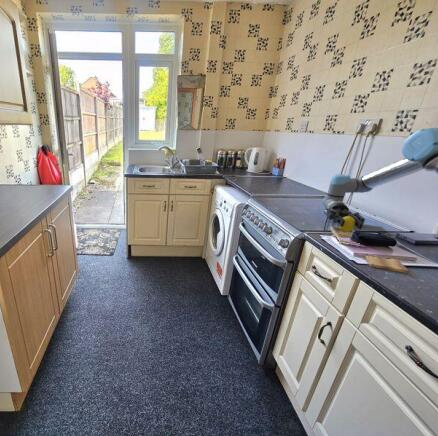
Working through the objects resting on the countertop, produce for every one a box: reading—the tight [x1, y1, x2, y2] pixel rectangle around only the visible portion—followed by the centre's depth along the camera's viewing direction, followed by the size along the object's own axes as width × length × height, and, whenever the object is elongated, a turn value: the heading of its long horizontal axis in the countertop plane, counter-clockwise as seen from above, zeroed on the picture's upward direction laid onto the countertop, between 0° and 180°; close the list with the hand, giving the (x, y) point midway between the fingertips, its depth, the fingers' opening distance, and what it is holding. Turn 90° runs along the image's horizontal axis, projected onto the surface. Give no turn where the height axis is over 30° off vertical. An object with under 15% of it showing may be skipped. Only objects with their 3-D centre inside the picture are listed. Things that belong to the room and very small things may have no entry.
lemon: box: [338, 216, 356, 233], centre depth 109 cm, size 6×6×8 cm
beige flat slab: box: [329, 225, 360, 245], centre depth 107 cm, size 9×17×1 cm, turn 156°
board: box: [364, 256, 410, 274], centre depth 87 cm, size 10×8×1 cm
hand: (351, 225), depth 104 cm, fingers closed on lemon, 5 cm apart
